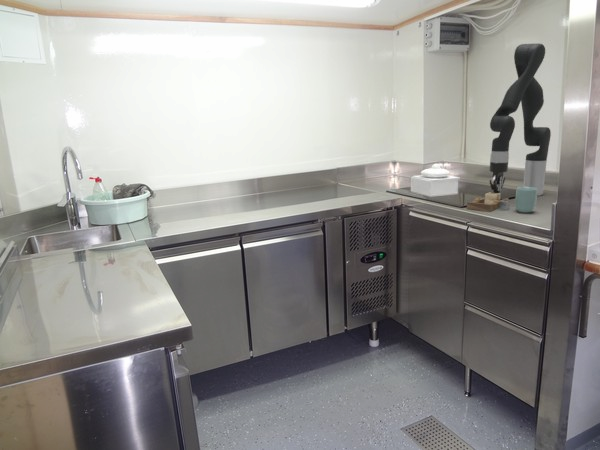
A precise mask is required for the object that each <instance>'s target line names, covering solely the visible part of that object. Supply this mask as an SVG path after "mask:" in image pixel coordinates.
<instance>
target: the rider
mask: <svg viewBox="0 0 600 450" xmlns="http://www.w3.org/2000/svg"><path fill="white" fill-rule="evenodd" d="M501 195H502V194H501V192H500V193H494V192H487V193H485V194H484V197H485V201H484V204H492V203H494V201H495V200H496V201H500V200H501Z"/></svg>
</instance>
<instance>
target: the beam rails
mask: <svg viewBox="0 0 600 450" xmlns="http://www.w3.org/2000/svg"><path fill="white" fill-rule="evenodd" d="M509 199H510V198H505V197H504V198H503V199H500V201H510V200H509ZM484 201H485V196H483V197H481V198H474V199H473V200H472V201H467V202H466V203H467V204H466V210H472V211H478V212H479V211H480V212H488V213H491V212H494V211H495V210H498V206H499V204H500V201H496V200H495V201H494V203H492V204H484Z"/></svg>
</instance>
